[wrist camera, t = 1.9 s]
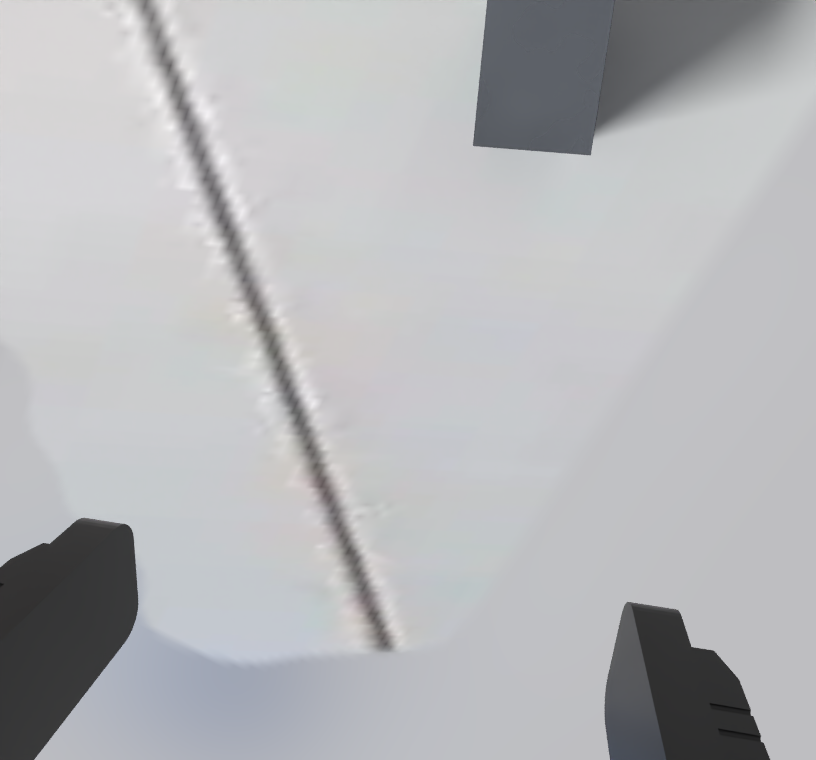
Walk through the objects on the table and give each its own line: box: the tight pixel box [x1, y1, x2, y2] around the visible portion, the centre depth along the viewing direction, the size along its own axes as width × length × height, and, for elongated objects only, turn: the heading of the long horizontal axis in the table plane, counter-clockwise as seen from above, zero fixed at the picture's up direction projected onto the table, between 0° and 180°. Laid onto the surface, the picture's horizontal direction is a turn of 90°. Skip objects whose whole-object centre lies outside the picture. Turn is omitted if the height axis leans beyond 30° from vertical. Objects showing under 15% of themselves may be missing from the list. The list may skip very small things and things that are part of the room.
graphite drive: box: [473, 0, 615, 155], centre depth 28 cm, size 4×6×10 cm
